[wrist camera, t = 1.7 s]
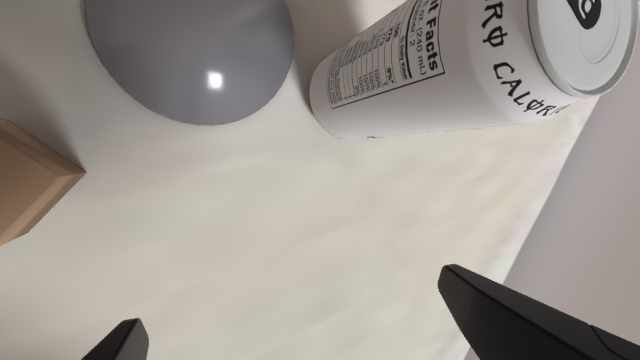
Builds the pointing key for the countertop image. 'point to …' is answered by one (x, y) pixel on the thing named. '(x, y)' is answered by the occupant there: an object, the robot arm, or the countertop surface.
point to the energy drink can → (472, 65)
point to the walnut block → (29, 180)
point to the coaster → (194, 54)
